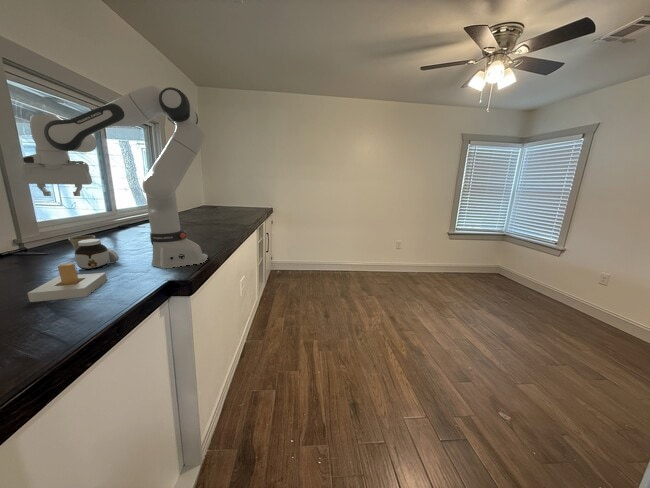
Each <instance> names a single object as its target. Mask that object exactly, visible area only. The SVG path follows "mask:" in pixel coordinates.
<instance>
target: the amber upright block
mask: <svg viewBox="0 0 650 488" xmlns="http://www.w3.org/2000/svg"><path fill="white" fill-rule="evenodd" d="M57 270H58V273H59V276H60V277H61V281H62V285H63V286H64V285H75V284H78V283H79V280H78V276H77V275H78V273H77V267H76V264H75V263H74V262H69V263H62V264H59V265H57Z"/></svg>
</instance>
